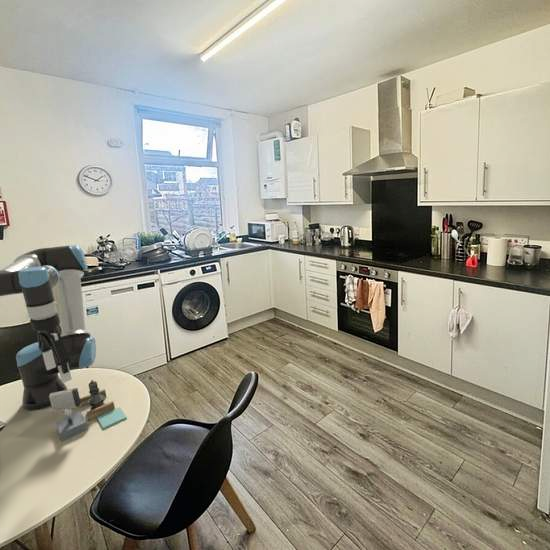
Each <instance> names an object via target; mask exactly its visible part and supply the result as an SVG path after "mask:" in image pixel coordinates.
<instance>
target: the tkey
mask: <svg viewBox="0 0 550 550" xmlns="http://www.w3.org/2000/svg"><path fill="white" fill-rule="evenodd" d="M49 398H50V402H51V406H50V407H51V409H52V412H58V411H63V410H64V414H65V416H66V417H65V418H67V422H72V421H73V416H72V415H73V413H72V409H73V408H77V407H80V406H81V401H80V392H79V391H78V387H75V388H71V389H67V390H64V391H59V392H54V393H50V395H49Z"/></svg>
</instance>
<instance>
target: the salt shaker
mask: <svg viewBox="0 0 550 550" xmlns="http://www.w3.org/2000/svg"><path fill="white" fill-rule="evenodd" d="M88 389H89V391H88V393H89V395H91V398H90V399H89V400H88V405H89V407H90V410H93V409H95V408H98V407H100V406H102V405H105V404H106V403H105V398H106V397H105V396H104V395H100V394H99V391H100V388H99V386H98V381H95V380H93V379H91V381H90V382H89V383H88ZM90 410H89V411H90Z"/></svg>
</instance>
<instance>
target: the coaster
mask: <svg viewBox="0 0 550 550" xmlns="http://www.w3.org/2000/svg"><path fill="white" fill-rule="evenodd" d="M127 417H128V416H127V415H126V414H125V412H124V411H123V409H121V407H120V406H119V407H117V408H116V407H115V409H114V410H112V411H110V412H107V413H105V414H103V415H100V416H98V417H96V419H97V421H98V423H99V425H100V426H101V428H102V430H104V429H107V428H110V427H112V426H113V425H116V424H118V423H120V422H122V421H124V420H127V419H128V418H127Z"/></svg>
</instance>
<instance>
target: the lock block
mask: <svg viewBox="0 0 550 550" xmlns="http://www.w3.org/2000/svg"><path fill="white" fill-rule="evenodd" d="M72 416H73V421H72V422H67V418H66V417H65V418H61V419H59V420H57V421H55V426H56V428H57V429H56V430H57V432H58V434H59V437H60V440H61V442H63V441H65V440H68V439H70V438H72V437H73V436H74V437H75V436H77V435H79V434H80V433H83V432H85V431H87V430H88V429H89V428H88V425H87V420H86V419H85V416H84V415H83V413H82V411H78V412H76V413H74V414H72Z"/></svg>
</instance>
